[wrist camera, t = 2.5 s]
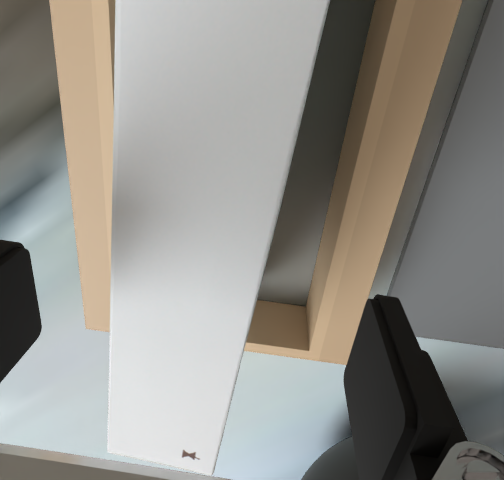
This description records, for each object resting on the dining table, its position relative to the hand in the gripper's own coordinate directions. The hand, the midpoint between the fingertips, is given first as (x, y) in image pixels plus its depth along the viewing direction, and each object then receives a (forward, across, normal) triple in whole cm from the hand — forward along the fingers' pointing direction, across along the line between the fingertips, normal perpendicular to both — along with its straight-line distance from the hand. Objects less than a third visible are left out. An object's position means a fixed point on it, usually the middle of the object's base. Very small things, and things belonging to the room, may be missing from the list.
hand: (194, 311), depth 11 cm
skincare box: (+17, +1, -1) cm, 17 cm away
